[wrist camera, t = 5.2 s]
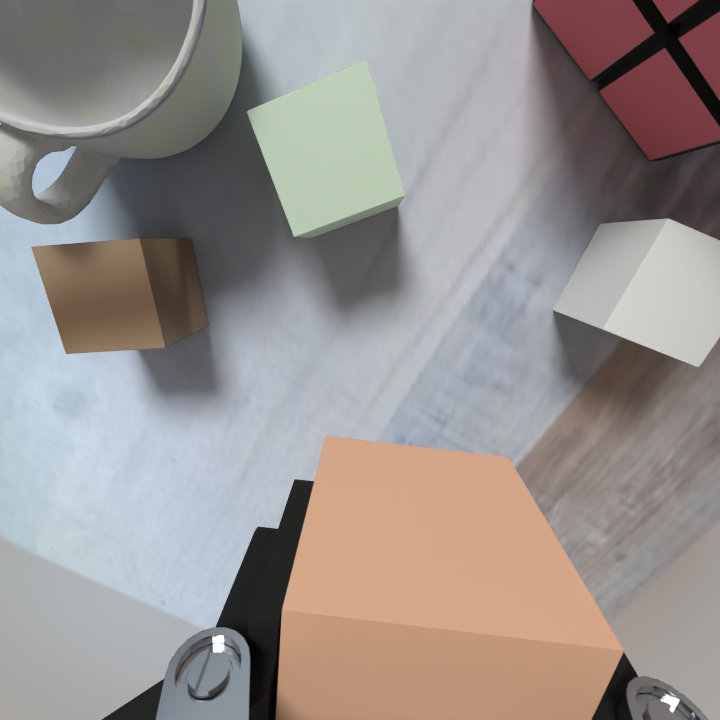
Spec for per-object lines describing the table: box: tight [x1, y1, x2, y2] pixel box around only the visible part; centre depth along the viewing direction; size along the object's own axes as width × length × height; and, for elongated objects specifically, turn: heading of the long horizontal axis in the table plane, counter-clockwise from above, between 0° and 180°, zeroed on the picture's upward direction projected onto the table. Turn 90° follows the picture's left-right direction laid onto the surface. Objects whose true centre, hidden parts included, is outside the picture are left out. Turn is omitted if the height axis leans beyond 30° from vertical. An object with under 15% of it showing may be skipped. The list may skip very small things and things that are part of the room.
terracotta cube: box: [276, 436, 624, 720], centre depth 9 cm, size 5×5×5 cm
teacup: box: [0, 0, 242, 224], centre depth 15 cm, size 14×11×8 cm
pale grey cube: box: [553, 218, 720, 367], centre depth 19 cm, size 5×5×5 cm
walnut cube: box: [32, 238, 209, 354], centre depth 20 cm, size 5×5×5 cm
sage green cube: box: [247, 60, 405, 238], centre depth 18 cm, size 5×5×5 cm
